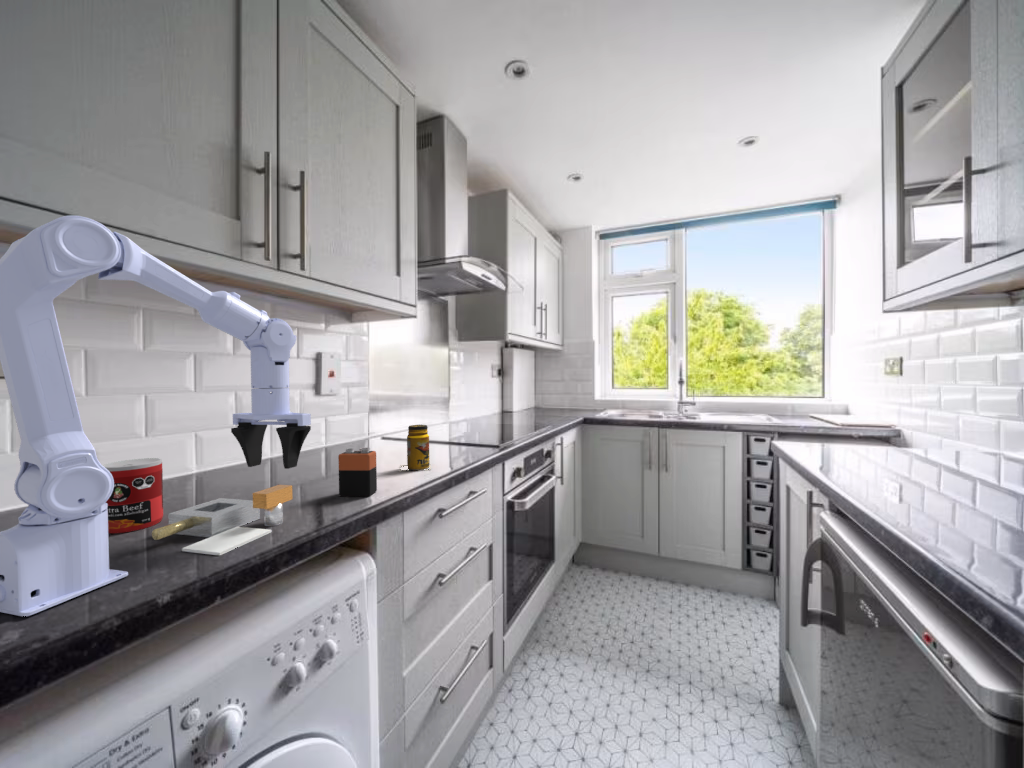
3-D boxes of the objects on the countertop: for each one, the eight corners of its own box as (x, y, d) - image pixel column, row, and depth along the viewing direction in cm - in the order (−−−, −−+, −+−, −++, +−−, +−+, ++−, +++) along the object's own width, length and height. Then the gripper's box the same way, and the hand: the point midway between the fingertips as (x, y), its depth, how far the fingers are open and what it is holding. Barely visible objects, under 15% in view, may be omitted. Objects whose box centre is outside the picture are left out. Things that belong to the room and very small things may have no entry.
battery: (369, 497, 86) (368, 450, 86) (338, 497, 86) (337, 450, 86) (377, 491, 90) (376, 446, 90) (347, 491, 91) (346, 446, 91)
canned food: (89, 536, 66) (88, 468, 66) (122, 520, 74) (120, 459, 73) (146, 531, 68) (145, 465, 68) (172, 515, 76) (171, 456, 75)
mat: (219, 555, 58) (219, 552, 58) (181, 551, 60) (181, 548, 60) (271, 532, 67) (271, 529, 67) (237, 528, 68) (237, 526, 68)
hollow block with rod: (179, 550, 60) (178, 529, 60) (133, 545, 62) (133, 524, 62) (259, 518, 73) (259, 500, 73) (220, 515, 76) (220, 498, 75)
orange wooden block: (267, 530, 68) (266, 494, 68) (253, 528, 68) (252, 493, 68) (292, 518, 73) (292, 485, 73) (280, 517, 74) (279, 484, 74)
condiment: (431, 470, 111) (430, 426, 111) (398, 472, 109) (398, 427, 109) (430, 464, 118) (430, 423, 118) (400, 466, 116) (399, 424, 116)
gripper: (322, 387, 73) (324, 463, 73) (256, 388, 76) (257, 460, 76) (292, 388, 66) (294, 472, 66) (220, 389, 69) (222, 468, 69)
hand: (272, 466), depth 71 cm, fingers open, 7 cm apart
